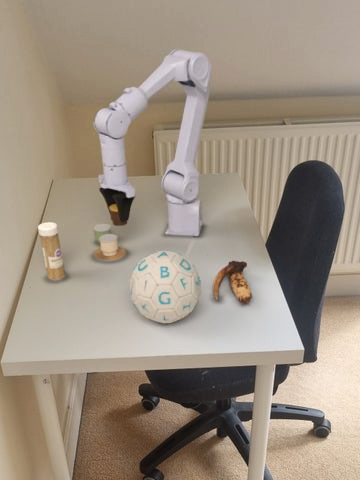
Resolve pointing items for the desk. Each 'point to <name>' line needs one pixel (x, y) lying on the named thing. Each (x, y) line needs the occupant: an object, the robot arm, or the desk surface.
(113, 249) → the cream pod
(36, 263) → the desk surface
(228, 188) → the desk surface
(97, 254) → the coaster
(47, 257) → the sprinkles bottle
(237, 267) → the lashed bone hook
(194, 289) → the puzzle ball
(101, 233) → the cylinder
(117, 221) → the brown pod
